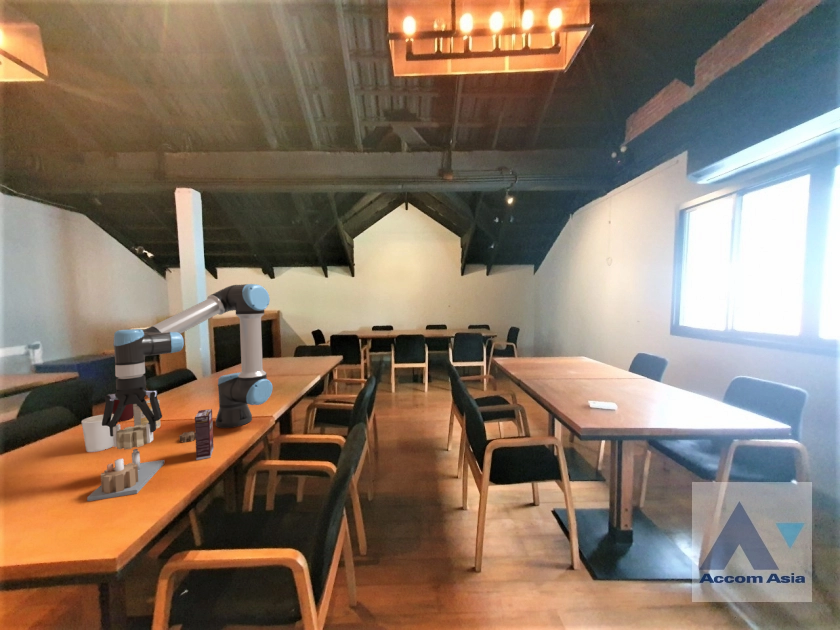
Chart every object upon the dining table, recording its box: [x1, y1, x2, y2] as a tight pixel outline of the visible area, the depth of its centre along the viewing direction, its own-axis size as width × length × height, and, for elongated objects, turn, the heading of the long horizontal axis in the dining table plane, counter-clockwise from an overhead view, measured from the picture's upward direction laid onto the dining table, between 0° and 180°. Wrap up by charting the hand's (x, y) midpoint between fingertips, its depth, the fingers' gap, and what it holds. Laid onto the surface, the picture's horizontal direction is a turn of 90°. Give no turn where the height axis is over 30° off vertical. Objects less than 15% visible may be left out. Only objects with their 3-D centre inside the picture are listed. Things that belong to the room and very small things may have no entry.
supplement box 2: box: [194, 408, 215, 461], centre depth 128 cm, size 9×5×16 cm, turn 25°
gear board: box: [86, 448, 165, 502], centre depth 110 cm, size 12×20×9 cm, turn 17°
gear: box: [178, 430, 196, 444], centre depth 142 cm, size 6×6×2 cm
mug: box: [112, 398, 134, 423], centre depth 168 cm, size 12×9×11 cm
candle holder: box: [81, 413, 114, 453], centre depth 135 cm, size 10×10×12 cm
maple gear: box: [116, 425, 148, 450], centre depth 114 cm, size 8×8×5 cm
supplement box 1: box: [133, 399, 161, 430], centre depth 152 cm, size 8×5×13 cm, turn 161°
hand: (134, 443), depth 114 cm, fingers closed on maple gear, 8 cm apart
